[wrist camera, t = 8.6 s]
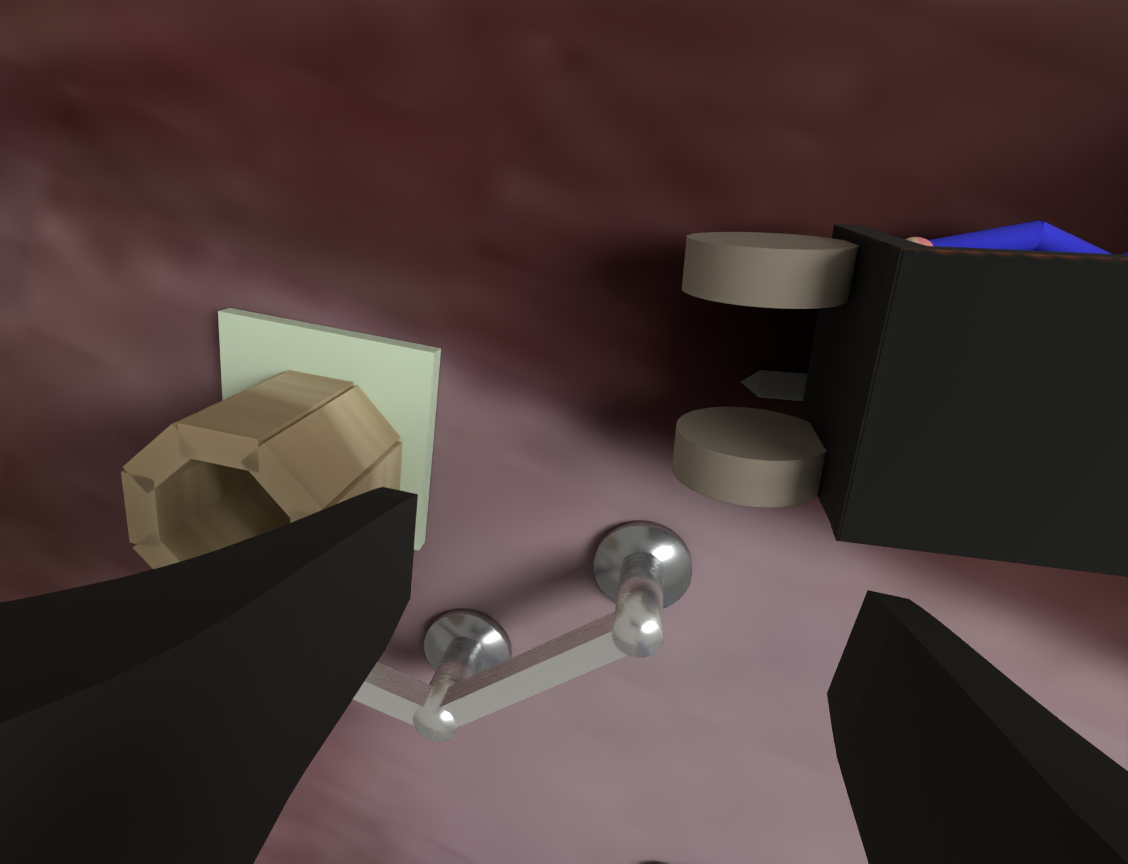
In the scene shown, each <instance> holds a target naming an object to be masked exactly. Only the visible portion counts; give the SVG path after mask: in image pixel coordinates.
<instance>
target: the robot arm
mask: <svg viewBox="0 0 1128 864" xmlns="http://www.w3.org/2000/svg"><path fill="white" fill-rule="evenodd" d="M417 500H418V494H415V493H410V492H405V491H401V490H396V489H391V488H387V487H380V488H377V489H373V490H370V491H368V492H365V493H362V494H360V495H357V496H355V497H352V498H350V499H347V500H345V501H342V502H340V503H338V504H335V505H333V506H330V507H328V508H326V509H323V510H321V511H318V512H316V513H313V514H311V515H308V516H306V517H304V518H301V519H299V520H296V521H294V522H291V523H289V524H286V525H284V526H281V527H279V528H276V529H274V530H271V531H268V532H265V533H262V534H260V535H257V536H254V537H251V538H249V539H246V540H243V541H240V542H238V543H235V544H232V545H229V546H227V547H224V548H221V549H218V550H216V551H213V552H210V553H207V554H203V555H200V556H197V557H194V558H191V559H187V560H184V561H181V562H178V563H174V564H171V565H167V566H163V567H160V568H156V569H152V570H149V571H145V572H141V573H138V574H134V575H130V576H126V577H122V578H118V579H114V580H109V581H105V582H100V583H95V584H91V585H86V586H81V587H77V588H72V589H67V590H63V591H58V592H53V593H49V594H44V595H39V596H34V597H30V598H24V599H19V600H13V601H7V602H1V603H0V864H253V863H254V861H255V860H256V858H257V856H258V854H259V852H260V850H261V848H262V846H263V845H264V843H265V841H266V839H267V837H268V835H269V833H270V832H271V830H272V828H273V826H274V824H275V822H276V820H277V818H278V817H279V815H280V813H281V811H282V809H283V807H284V805H285V804H286V802H287V800H288V798H289V796H290V795H291V793H292V792H293V790H294V788H295V787H296V785H297V783H298V782H299V780H300V778H301V777H302V775H303V773H304V772H305V770H306V769H307V767H308V766H309V764H310V763H311V761H312V760H313V758H314V757H315V755H316V754H317V752H318V751H319V749H320V748H321V746H322V745H323V743H324V742H325V740H326V738H327V737H328V735H329V734H330V732H331V731H332V729H333V728H334V726H335V725H336V723H337V722H338V720H339V719H340V717H341V716H342V714H343V713H344V711H345V710H346V708H347V707H348V705H349V704H350V702H351V701H352V699H353V698H354V696H355V695H356V693H357V692H358V690H359V689H360V687H361V686H362V684H363V683H364V681H365V680H366V678H367V677H368V675H369V674H370V672H371V671H372V669H373V668H374V666H375V664H376V663H377V661H378V660H379V658H380V657H381V655H382V654H383V652H384V650H385V649H386V647H387V645H388V643H389V641H390V639H391V637H392V635H393V633H394V631H395V629H396V627H397V625H398V623H399V620H400V618H401V616H402V614H403V612H404V610H405V608H406V606H407V603H408V601H409V599H410V593H411V580H412V567H413V553H414V540H415V527H416V514H417ZM827 696H828V703H829V711H830V718H831V725H832V731H833V737H834V742H835V748H836V754H837V759H838V762H839V766H840V769H841V773H842V776H843V780H844V783H845V786H846V790H847V793H848V797H849V800H850V803H851V807H852V810H853V813H854V817H855V820H856V823H857V826H858V830H859V833H860V836H861V840H862V843H863V846H864V849H865V853H866V856H867V859H868V863H869V864H1128V771H1127V770H1125V769H1124V768H1123V767H1121V766H1120V765H1119V764H1117V763H1116V762H1115V761H1113V760H1112V759H1111V758H1109V757H1108V756H1107V755H1105V754H1104V753H1103V752H1101V751H1100V750H1099V749H1098V748H1096V747H1095V746H1094V745H1092V744H1091V743H1090V742H1088V741H1087V740H1086V739H1084V738H1083V737H1082V736H1080V735H1079V734H1078V733H1076V732H1075V731H1074V730H1073V729H1071V728H1070V727H1069V726H1067V725H1066V724H1065V723H1063V722H1062V721H1061V720H1060V719H1058V718H1057V717H1056V716H1055V715H1053V714H1052V713H1051V712H1050V711H1048V710H1047V709H1046V708H1045V707H1043V706H1042V705H1041V704H1040V703H1038V702H1037V701H1036V700H1035V699H1033V698H1032V697H1031V696H1030V695H1028V694H1027V693H1026V692H1025V691H1023V690H1022V689H1021V688H1020V687H1019V686H1017V685H1016V684H1015V683H1014V682H1012V681H1011V680H1010V679H1009V678H1008V677H1006V676H1005V675H1004V674H1003V673H1002V672H1000V671H999V670H998V669H997V668H996V667H994V666H993V665H992V664H991V663H989V662H988V661H987V660H986V659H985V658H983V657H982V656H981V655H980V654H979V653H977V652H976V651H975V650H974V649H973V648H971V647H970V646H969V645H968V644H967V643H965V642H964V641H963V640H962V639H961V638H959V637H958V636H957V635H956V634H954V633H953V632H952V631H951V630H950V629H948V628H947V627H946V626H945V625H943V624H942V623H941V622H940V621H938V620H937V619H936V618H935V617H933V616H932V615H931V614H929V613H928V612H927V611H925V610H924V609H923V608H921V607H920V606H918V605H917V604H915V603H914V602H912V601H911V600H909V599H906V598H901V597H897V596H892V595H887V594H883V593H878V592H873V591H869V590H868V591H867V593H866V596H865V598H864V601H863V603H862V606H861V609H860V611H859V614H858V616H857V619H856V621H855V624H854V626H853V629H852V631H851V634H850V636H849V639H848V641H847V644H846V647H845V649H844V652H843V654H842V657H841V659H840V662H839V664H838V667H837V669H836V672H835V674H834V677H833V679H832V682H831V685H830V687H829V690H828V692H827Z"/></svg>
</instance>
